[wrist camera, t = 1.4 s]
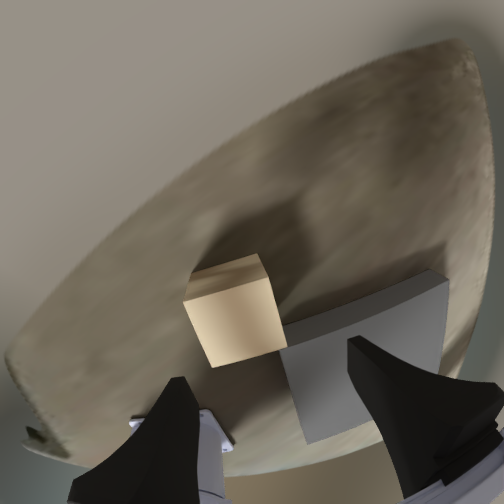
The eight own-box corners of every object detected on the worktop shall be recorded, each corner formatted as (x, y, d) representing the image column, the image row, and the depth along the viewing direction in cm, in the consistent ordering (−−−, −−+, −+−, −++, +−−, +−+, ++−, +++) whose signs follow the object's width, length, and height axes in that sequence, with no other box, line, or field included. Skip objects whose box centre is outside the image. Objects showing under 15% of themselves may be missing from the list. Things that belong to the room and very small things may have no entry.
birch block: (213, 329, 21) (212, 367, 17) (191, 272, 20) (183, 302, 15) (273, 311, 21) (287, 346, 17) (256, 252, 20) (268, 277, 15)
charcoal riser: (300, 425, 26) (307, 444, 23) (272, 329, 22) (279, 350, 19) (422, 371, 26) (435, 385, 23) (429, 268, 22) (449, 279, 19)
